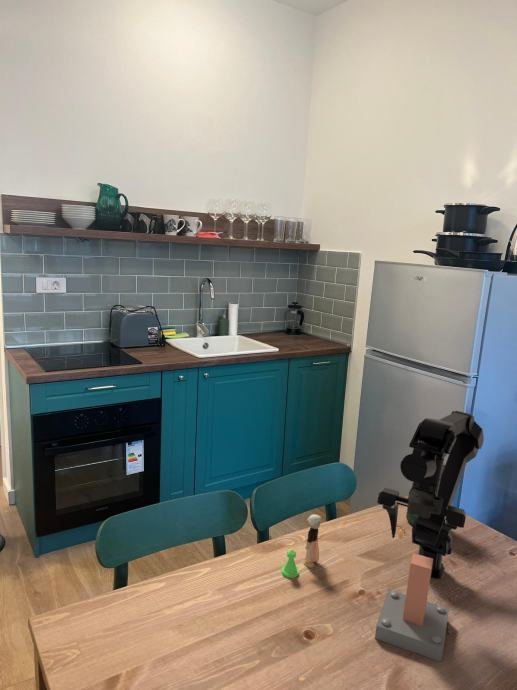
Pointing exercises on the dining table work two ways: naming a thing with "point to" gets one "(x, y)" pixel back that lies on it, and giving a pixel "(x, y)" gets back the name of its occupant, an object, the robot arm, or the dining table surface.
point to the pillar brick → (417, 589)
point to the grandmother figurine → (312, 541)
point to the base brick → (412, 627)
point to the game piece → (290, 566)
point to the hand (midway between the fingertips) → (414, 544)
